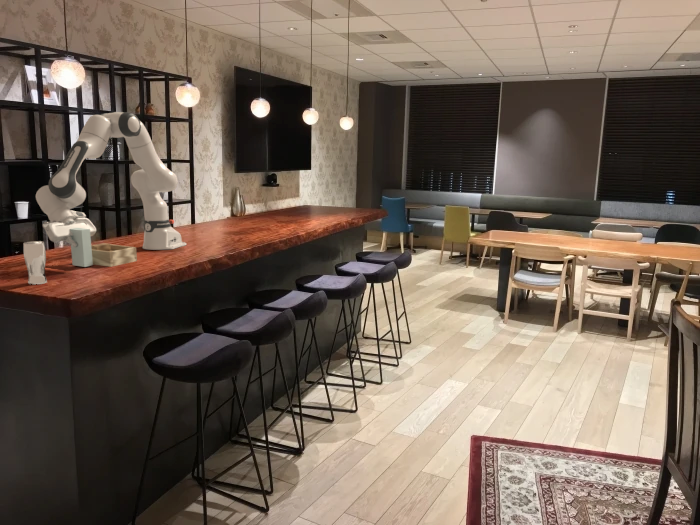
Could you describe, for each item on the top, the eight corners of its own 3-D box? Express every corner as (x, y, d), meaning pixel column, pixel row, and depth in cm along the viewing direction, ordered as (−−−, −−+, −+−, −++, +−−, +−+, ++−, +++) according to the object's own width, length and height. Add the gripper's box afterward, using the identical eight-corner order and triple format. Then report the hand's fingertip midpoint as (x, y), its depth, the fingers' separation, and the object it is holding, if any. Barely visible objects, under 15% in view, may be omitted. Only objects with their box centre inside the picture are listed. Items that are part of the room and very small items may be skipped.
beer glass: (28, 285, 201) (23, 244, 198) (25, 282, 207) (21, 242, 204) (49, 283, 205) (46, 243, 202) (46, 279, 211) (43, 240, 208)
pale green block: (80, 263, 233) (77, 227, 230) (92, 265, 230) (89, 229, 227) (72, 265, 230) (69, 229, 227) (84, 266, 227) (81, 230, 224)
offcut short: (104, 249, 246) (103, 243, 245) (110, 250, 244) (110, 243, 244) (90, 252, 240) (90, 245, 239) (97, 253, 238) (96, 246, 237)
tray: (107, 259, 251) (106, 243, 250) (137, 263, 243) (136, 247, 242) (80, 264, 239) (79, 248, 237) (111, 269, 231) (109, 252, 230)
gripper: (43, 217, 220) (62, 244, 218) (87, 212, 238) (105, 237, 236) (37, 227, 222) (56, 254, 220) (81, 222, 241) (98, 246, 238)
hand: (82, 245), depth 228 cm, fingers closed on pale green block, 4 cm apart
